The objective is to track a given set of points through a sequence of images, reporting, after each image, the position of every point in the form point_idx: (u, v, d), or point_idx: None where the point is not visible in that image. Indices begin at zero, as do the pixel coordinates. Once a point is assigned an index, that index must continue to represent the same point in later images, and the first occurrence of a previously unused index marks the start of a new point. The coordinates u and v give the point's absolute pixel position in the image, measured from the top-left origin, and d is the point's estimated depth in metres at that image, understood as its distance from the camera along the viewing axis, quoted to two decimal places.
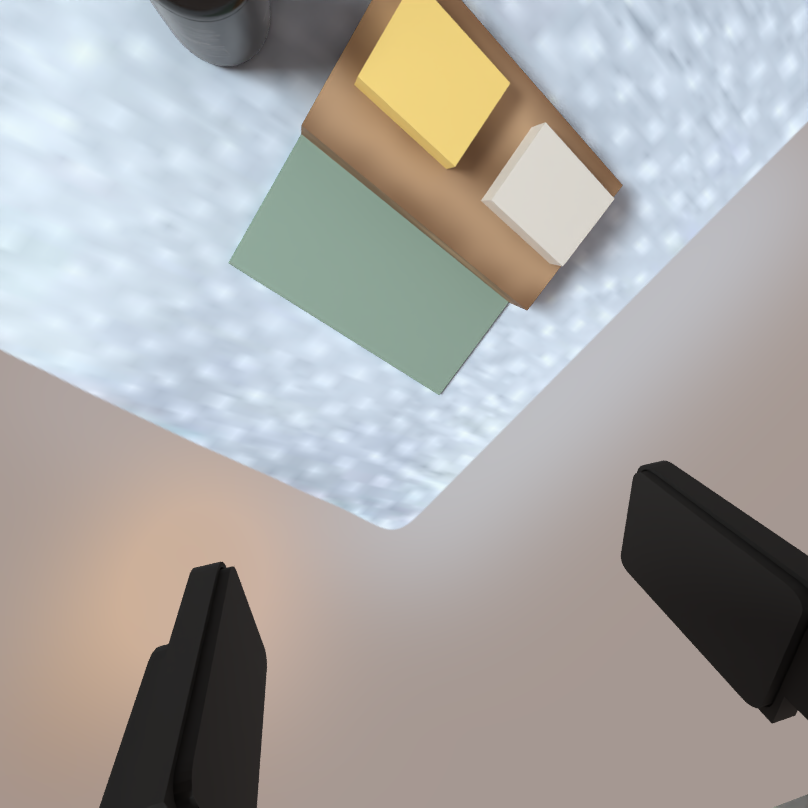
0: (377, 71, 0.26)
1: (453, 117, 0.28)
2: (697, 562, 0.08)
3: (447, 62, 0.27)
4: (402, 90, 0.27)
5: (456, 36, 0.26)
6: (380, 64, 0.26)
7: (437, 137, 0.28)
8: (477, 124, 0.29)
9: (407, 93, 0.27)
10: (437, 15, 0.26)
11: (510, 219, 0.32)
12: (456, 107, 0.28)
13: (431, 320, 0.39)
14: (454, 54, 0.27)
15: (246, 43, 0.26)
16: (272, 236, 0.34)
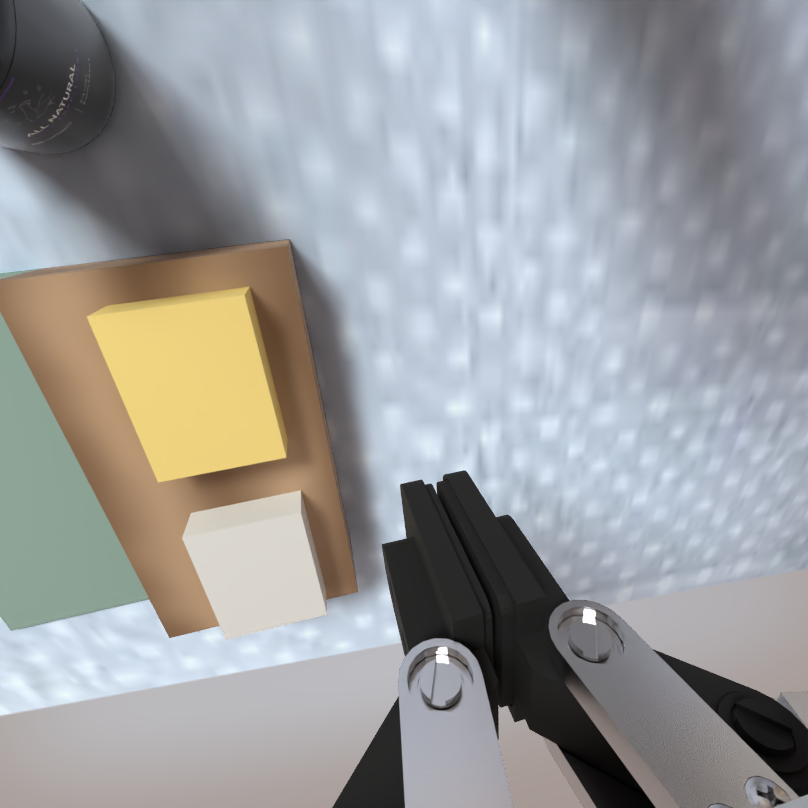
0: (120, 332, 0.17)
1: (192, 440, 0.20)
2: None
3: (224, 390, 0.19)
4: (143, 372, 0.18)
5: (254, 378, 0.19)
6: (130, 329, 0.17)
7: (155, 443, 0.19)
8: (218, 465, 0.21)
9: (147, 380, 0.18)
10: (245, 345, 0.18)
11: None
12: (203, 434, 0.20)
13: (65, 553, 0.27)
14: (239, 390, 0.19)
15: None
16: None
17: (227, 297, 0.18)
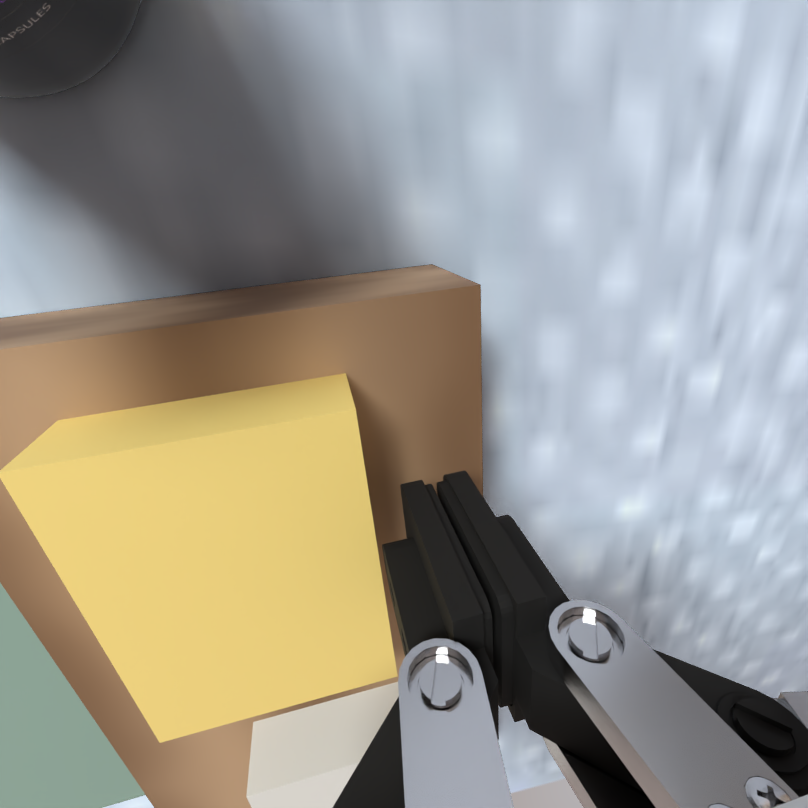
0: (80, 499, 0.08)
1: (228, 670, 0.10)
2: None
3: (297, 585, 0.09)
4: (131, 571, 0.08)
5: (356, 559, 0.10)
6: (103, 492, 0.08)
7: (156, 685, 0.10)
8: (275, 702, 0.11)
9: (140, 582, 0.09)
10: (346, 504, 0.09)
11: None
12: (251, 660, 0.10)
13: (43, 745, 0.17)
14: (325, 582, 0.10)
15: None
16: None
17: (318, 414, 0.08)
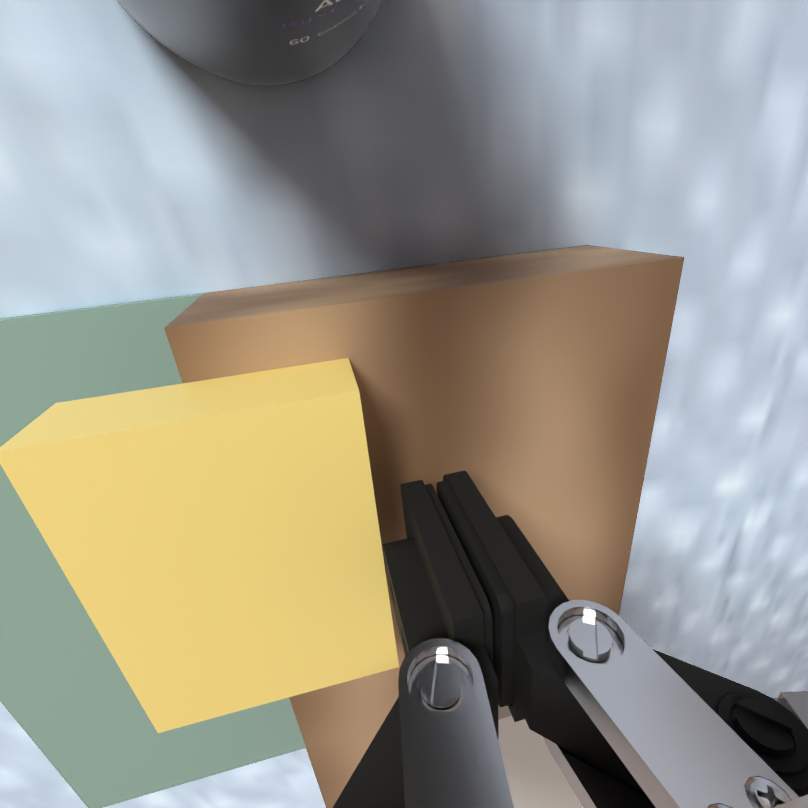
0: (78, 481, 0.07)
1: (228, 660, 0.10)
2: None
3: (298, 572, 0.09)
4: (130, 555, 0.08)
5: (358, 546, 0.09)
6: (101, 473, 0.07)
7: (154, 673, 0.10)
8: (275, 692, 0.11)
9: (139, 567, 0.08)
10: (349, 488, 0.09)
11: None
12: (251, 648, 0.10)
13: None
14: (327, 569, 0.09)
15: (187, 27, 0.07)
16: None
17: (321, 396, 0.08)
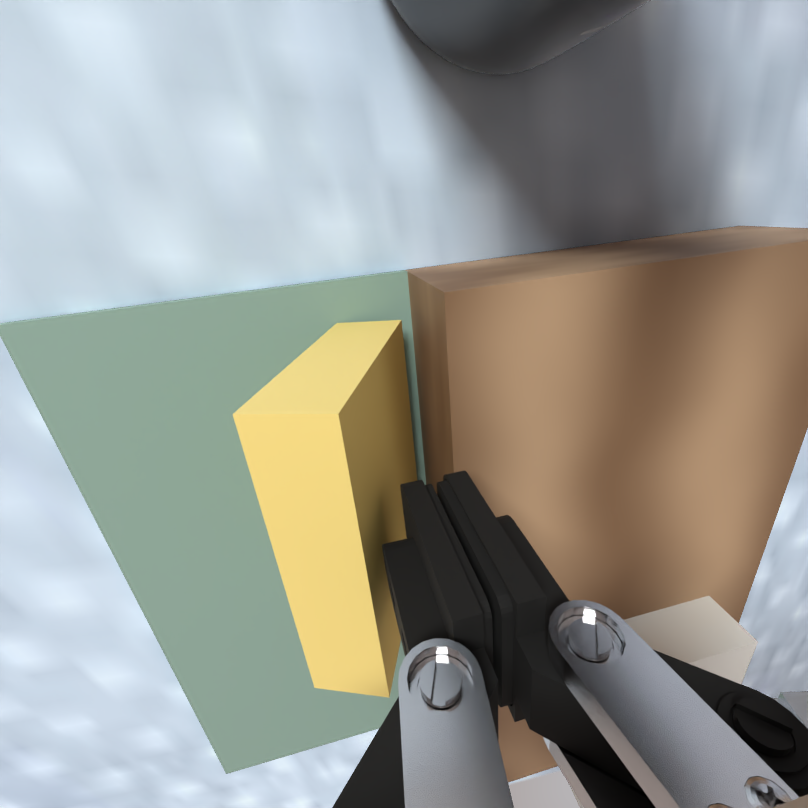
0: None
1: None
2: None
3: None
4: None
5: None
6: None
7: None
8: None
9: None
10: None
11: None
12: None
13: None
14: None
15: (510, 19, 0.08)
16: (167, 366, 0.12)
17: (256, 398, 0.08)
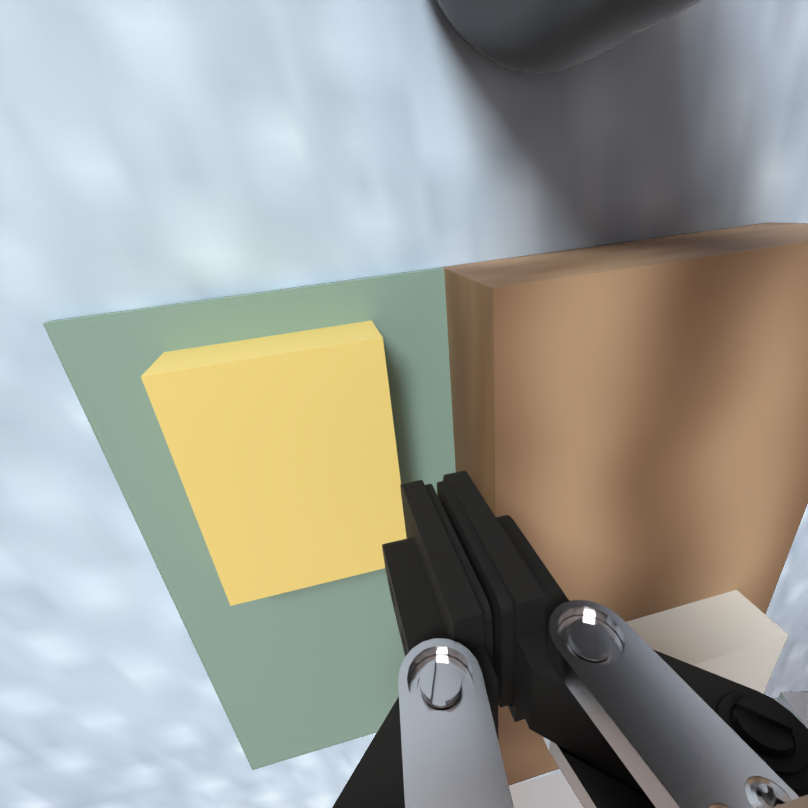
0: None
1: None
2: None
3: None
4: None
5: None
6: None
7: None
8: None
9: None
10: None
11: None
12: None
13: (348, 669, 0.19)
14: None
15: (565, 18, 0.08)
16: None
17: (188, 350, 0.12)
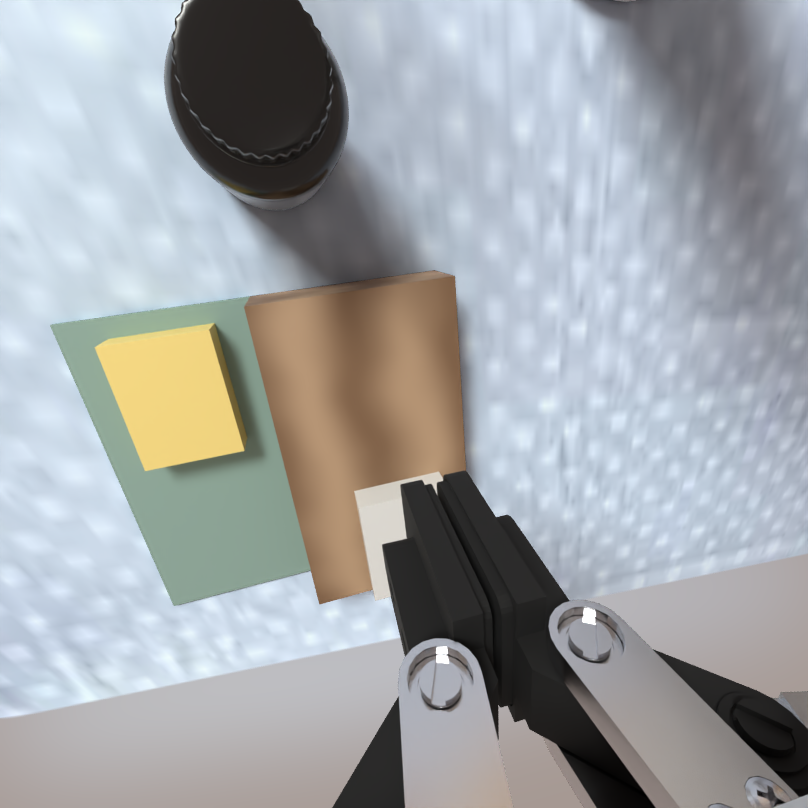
0: None
1: None
2: None
3: None
4: None
5: None
6: None
7: None
8: None
9: None
10: None
11: (362, 532, 0.28)
12: None
13: (229, 534, 0.32)
14: None
15: (255, 205, 0.22)
16: None
17: (120, 337, 0.25)
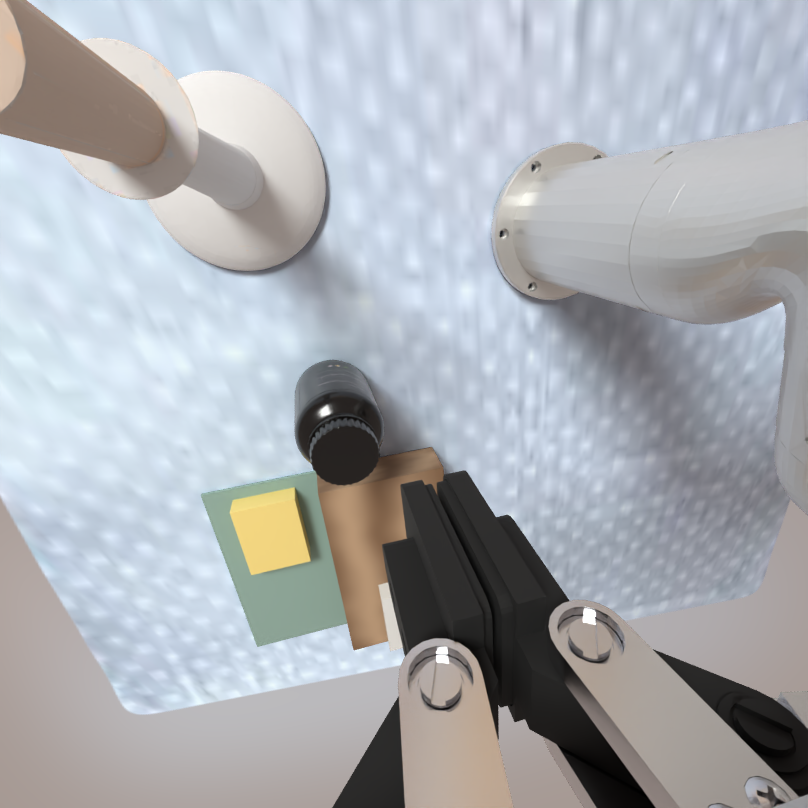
0: None
1: None
2: None
3: None
4: None
5: None
6: None
7: None
8: None
9: None
10: None
11: (383, 612, 0.45)
12: None
13: (295, 603, 0.49)
14: None
15: None
16: None
17: (239, 499, 0.42)
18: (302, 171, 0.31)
